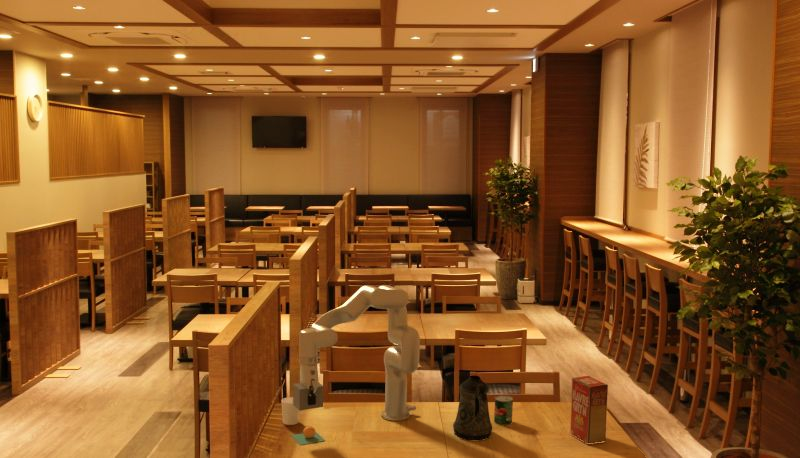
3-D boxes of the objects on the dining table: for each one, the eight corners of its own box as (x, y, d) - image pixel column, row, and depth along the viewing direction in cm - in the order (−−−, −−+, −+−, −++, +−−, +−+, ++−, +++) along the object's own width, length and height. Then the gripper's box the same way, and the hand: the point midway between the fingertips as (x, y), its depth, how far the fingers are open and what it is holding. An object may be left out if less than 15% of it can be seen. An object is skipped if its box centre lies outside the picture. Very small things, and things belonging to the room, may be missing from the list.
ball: (299, 430, 325) (306, 438, 327) (303, 434, 320) (310, 442, 322) (308, 421, 326) (315, 429, 328) (312, 426, 322) (319, 434, 324)
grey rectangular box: (316, 401, 328) (316, 380, 327) (323, 406, 321) (323, 386, 320) (293, 404, 324) (293, 383, 323) (299, 410, 317) (299, 389, 316)
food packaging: (568, 434, 334) (571, 377, 331) (586, 431, 338) (589, 374, 335) (587, 445, 322) (590, 386, 319) (606, 442, 326) (609, 384, 323)
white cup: (296, 426, 337) (296, 404, 336) (278, 424, 339) (278, 402, 337) (302, 420, 345) (302, 397, 344) (285, 418, 346) (285, 396, 345)
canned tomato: (491, 423, 345) (492, 399, 343) (496, 418, 352) (497, 394, 350) (509, 426, 342) (510, 402, 340) (514, 420, 349) (514, 396, 348)
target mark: (315, 431, 332) (315, 431, 332) (325, 440, 322) (325, 440, 322) (290, 435, 327) (290, 435, 327) (299, 445, 317) (299, 444, 317)
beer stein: (470, 423, 345) (472, 368, 342) (505, 436, 331) (507, 378, 328) (444, 433, 333) (446, 375, 330) (480, 446, 319) (482, 387, 316)
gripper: (324, 364, 314) (324, 406, 316) (309, 353, 330) (309, 393, 332) (307, 366, 311) (307, 409, 313) (292, 355, 326) (292, 396, 328)
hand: (308, 401), depth 322 cm, fingers closed on grey rectangular box, 7 cm apart
